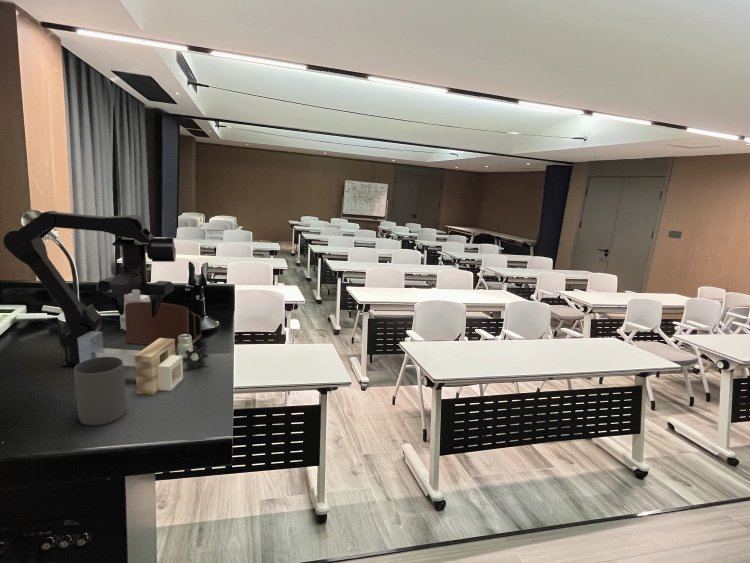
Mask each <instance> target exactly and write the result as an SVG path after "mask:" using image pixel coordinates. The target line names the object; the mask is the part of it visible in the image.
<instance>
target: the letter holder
mask: <svg viewBox="0 0 750 563" xmlns="http://www.w3.org/2000/svg"><path fill="white" fill-rule="evenodd" d="M125 320H126V330H125V339H126V341H125V342H126V344H127V343H132V344H131V345H143V346H149V345H150V344H152V343H153V342H155V341H156V340H157V339H159V338H168V339H175V348H177V345H178V343H179V342H178V336H179V335H182V334H189V335H191V337H192V341H191V342H192V344H193V345H194V344H195V343H196V342H197V341H198V340H200V339H201V338H202V318H201V316H200V315H198V314H195V313H194V312H193V311H190V310H189V309H188V308H187V307H186V306H184V305H178V304H172V303H168V302H161V304H160V307H159V309H158V312H157V314H156V316H155V317H152V306H151V301H150V302H132V303H127V304H126V305H125Z"/></svg>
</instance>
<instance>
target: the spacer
mask: <svg viewBox="0 0 750 563" xmlns="http://www.w3.org/2000/svg"><path fill="white" fill-rule="evenodd" d="M183 364H184V363H183V360H182V356H179V355H176V354H175V355H170V356H169V357H168V358H167V359H166V360H164V361H163V362H162V363H161V364H159V365H158V366H157V368H158V387H159V390H158V391H167V392H170V391H173V389H174V388H175V387H176V386H177V385H178V384H179V383H180V382H181V381H182V380H183V379H184V371H183V370H184V369H183V368H184V367H183Z"/></svg>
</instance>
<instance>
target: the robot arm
mask: <svg viewBox="0 0 750 563" xmlns="http://www.w3.org/2000/svg"><path fill="white" fill-rule="evenodd" d="M146 226H147V225H146V222H145V219H143V218H142V217H141V216H140V215H136V214H125V215H115V216H114V215H113V216H112V215H111V216H102V215H92V214H91V215H90V214H83V213H82V214H80V213H71V212H70V213H69V212H59V211H56V210H47V211H43V212H42V213H40V214H39V215H38V216H37V217H35V218H34V219H33V220H31V221H30V222H28V223H27V224H25V225H23V226H22V227H21V228H19V229H15V230H11V231H8V232H7V233H6V234H5V235H4V237H3V240H2V244H3V247H4V248H5V249H6V250H7V251H8V252H9V253H11V254H12V255H13V257H15V258H16V259H17V260H19V261H21V263H23V264H25V265H27V266H28V267H29V268H30V269H31V271H32V272H33V273H34V275H35V277H36V278H37V279H38V280H39V282H40V283H41V285H43V287H44V288H45V289H46V291H47V293H49V295H50V296H51V297H52V299H53V300H54V301H55V303H56V304H57V305H58V306H57V307H59V308H60V310H61V311H62V312H63V318H64V320H65V325H66V326H67V329H68V332H67V333H66V334H65V335H64V336H63V337H62V338H61V339H60V342H61V344H62V347H63V348H64V356H65V358H64V359H65V361H64V362H62V363H61V366H63V367H75V366H76V365H77V364H79V363H80V359H79V349H78V338H79V337H81V336H83V335H84V334H86V333H88V332H90V331H95V332H98V330H99V328H100V327H101V326H102V319H101V316H102V315H101V313H99V312H98V311H97V310H96V308H95V306H94V304H92V303H91V304H89V305H88V306H87V305H86V304H84V303H83V302H81V301H80V299H79V298H78V297H77V295H76V294H75V292H74V291H73V289H72V288H71V287H70V285H69V284H68V283H67V281H66V280H65V279H64V277H63V276H62V275H61V273H60V272H59V270H58V269H57V268H56V267H55V265H54V263H53V262H52V261H51V260H50V258H49V257H48V251H47V247H46V243H45V242H44V239H43V238H44V237H46V236H47V235H48V234H49V233H51V232H52V231H53V229H55V228H58V229H59V228H61V229H67V230H68V229H70V230H71V229H72V230H80V231H81V230H82V231H94V232H104V233H107V234H110V235H114V236H118V237H117V238H116V240H114V242H113V243H111V244H112V246H113V247H114V246H115V247H117V246H119V247H121V260H122V261H121V263H122V265H120V266H119V272H118V274H116V275H115V276H114V277H110V276H109V277H106V278H104V279H100V280H99V281H97V284H96V290H97V292H102V295H106V296H107V297H109V298H110V299H111V301H112V303H113V304H114V306H115V308H116V310H117V312H118V314H119V316H120V315H123V314H124V294H125V295H126V294H132V293H131V292H132V290H133V289H134V290H140V291H148V292H149V293H150V295H148V296H149V297H150V302H151V306H152V317H155V316H156V314H157V312H158V309H159V307H160V304H161V303H163V300H164V298H165V297H166V296H167V295H169V294H170V293H172V292H174V291H175V289H174V288H175V287H174V284H173V283H172V281H168V280H158V281H155V282H153V283H150V281H151V279H150V277H148V270H147V269H149V268H150V264H149V263H147V258H148V259H149V260H151V261H152V263H154V262H156V263H157V262H160V263H166V262H167V263H174V262H176V255H177V253H176V252H177V251H176V250H177V249H176V246H175V242H174V237H172V236H171V237H155V236H154V235H153V234H152V233H151V232H150V230H149V229H148V228H147V227H146Z"/></svg>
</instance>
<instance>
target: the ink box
mask: <svg viewBox="0 0 750 563" xmlns="http://www.w3.org/2000/svg"><path fill="white" fill-rule="evenodd" d="M149 296H150V295H146V294H141V290H135V289H133V290H132V292H131V293H130V294H126V295H125V294H124V314H123V315H120V314H119V320H120V330H121V329H124V330H123V331H126V320H125V305H126V304H127V303H132V302H151V299H150V297H149Z"/></svg>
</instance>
